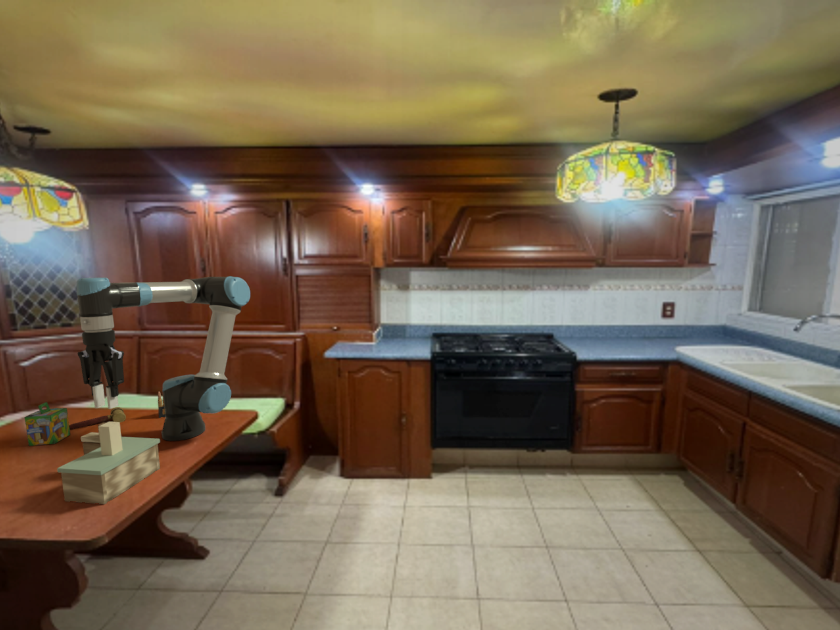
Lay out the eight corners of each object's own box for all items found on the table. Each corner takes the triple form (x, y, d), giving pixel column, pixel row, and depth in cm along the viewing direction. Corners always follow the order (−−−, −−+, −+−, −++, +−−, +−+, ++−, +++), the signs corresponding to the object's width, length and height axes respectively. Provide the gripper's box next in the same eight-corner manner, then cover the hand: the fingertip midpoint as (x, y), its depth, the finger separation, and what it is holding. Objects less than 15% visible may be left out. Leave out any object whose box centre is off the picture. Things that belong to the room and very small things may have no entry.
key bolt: (91, 437, 133) (89, 420, 132) (112, 438, 132) (110, 421, 131) (81, 441, 129) (79, 425, 129) (103, 442, 128) (101, 426, 128)
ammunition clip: (185, 411, 185) (183, 386, 184) (186, 412, 184) (184, 387, 182) (158, 417, 178) (156, 391, 176) (159, 418, 177) (156, 392, 175)
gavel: (60, 428, 160) (60, 421, 167) (63, 438, 160) (63, 431, 168) (124, 411, 173) (122, 405, 181) (126, 421, 174) (124, 415, 181)
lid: (122, 443, 133) (119, 410, 132) (160, 445, 131) (157, 412, 130) (58, 475, 113) (53, 437, 111) (101, 478, 111) (97, 440, 109)
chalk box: (54, 444, 151) (50, 407, 150) (27, 446, 150) (22, 408, 148) (71, 434, 160) (67, 399, 159) (45, 436, 159) (41, 400, 157)
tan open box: (100, 464, 135) (96, 436, 134) (159, 468, 132) (157, 439, 131) (36, 498, 116) (31, 465, 114) (104, 504, 112) (100, 470, 111)
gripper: (60, 331, 115) (69, 410, 118) (112, 332, 112) (120, 412, 115) (85, 327, 122) (93, 401, 125) (134, 328, 120) (142, 403, 123)
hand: (106, 406), depth 120 cm, fingers open, 4 cm apart
